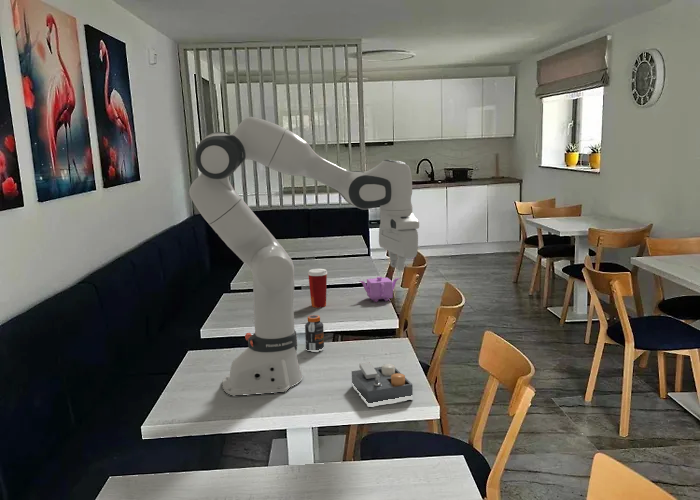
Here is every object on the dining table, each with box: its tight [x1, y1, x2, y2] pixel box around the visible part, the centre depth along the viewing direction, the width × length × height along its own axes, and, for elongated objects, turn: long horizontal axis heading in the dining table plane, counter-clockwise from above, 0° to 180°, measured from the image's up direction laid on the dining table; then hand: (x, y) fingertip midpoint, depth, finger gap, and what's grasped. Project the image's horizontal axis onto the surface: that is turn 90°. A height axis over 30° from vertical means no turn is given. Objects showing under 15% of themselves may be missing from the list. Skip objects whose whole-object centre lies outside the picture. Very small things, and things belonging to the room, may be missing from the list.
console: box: [351, 366, 413, 403], centre depth 153 cm, size 12×14×8 cm
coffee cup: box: [307, 268, 328, 309], centre depth 238 cm, size 8×8×15 cm
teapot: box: [358, 276, 400, 303], centre depth 246 cm, size 18×13×10 cm
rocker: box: [359, 361, 377, 379], centre depth 155 cm, size 3×6×1 cm, turn 17°
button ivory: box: [381, 363, 396, 376], centre depth 157 cm, size 4×4×4 cm
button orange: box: [391, 372, 406, 386], centre depth 151 cm, size 4×4×4 cm
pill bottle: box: [304, 314, 325, 351], centre depth 187 cm, size 6×6×11 cm
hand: (397, 268), depth 162 cm, fingers open, 3 cm apart
